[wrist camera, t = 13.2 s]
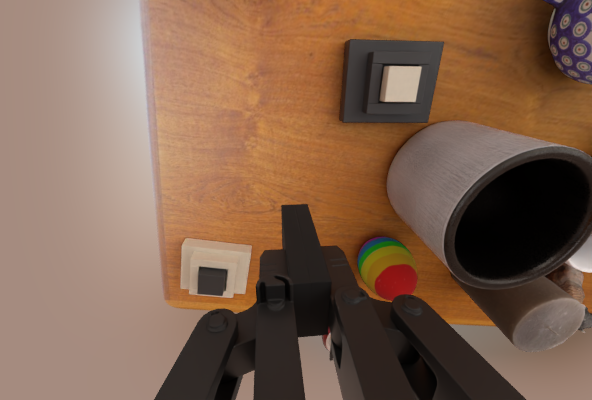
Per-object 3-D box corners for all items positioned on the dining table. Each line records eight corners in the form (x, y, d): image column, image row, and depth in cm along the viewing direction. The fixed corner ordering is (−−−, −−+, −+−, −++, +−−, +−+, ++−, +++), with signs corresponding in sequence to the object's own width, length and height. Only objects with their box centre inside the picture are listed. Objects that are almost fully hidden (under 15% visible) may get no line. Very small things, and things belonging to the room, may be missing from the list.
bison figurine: (544, 231, 46) (611, 269, 37) (580, 235, 47) (654, 273, 38) (512, 287, 51) (564, 332, 42) (544, 289, 52) (603, 334, 43)
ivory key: (378, 100, 32) (384, 102, 30) (383, 66, 31) (389, 66, 29) (408, 101, 32) (415, 102, 31) (414, 67, 31) (422, 66, 29)
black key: (199, 285, 41) (197, 294, 39) (201, 266, 40) (198, 274, 38) (224, 287, 41) (222, 296, 40) (226, 268, 40) (224, 276, 38)
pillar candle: (438, 265, 48) (505, 341, 34) (486, 228, 45) (579, 293, 31) (468, 292, 51) (540, 371, 37) (514, 258, 48) (610, 330, 35)
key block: (339, 120, 36) (346, 124, 32) (345, 41, 32) (354, 37, 29) (419, 120, 37) (435, 125, 33) (434, 43, 33) (454, 39, 30)
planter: (412, 240, 45) (477, 315, 31) (363, 166, 39) (415, 217, 25) (505, 182, 42) (623, 237, 28) (466, 93, 36) (592, 103, 22)
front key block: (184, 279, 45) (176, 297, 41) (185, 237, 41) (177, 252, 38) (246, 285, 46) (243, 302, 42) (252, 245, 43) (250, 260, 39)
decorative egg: (387, 275, 48) (414, 322, 38) (344, 264, 46) (362, 311, 37) (410, 236, 45) (445, 277, 36) (365, 224, 43) (390, 263, 34)
